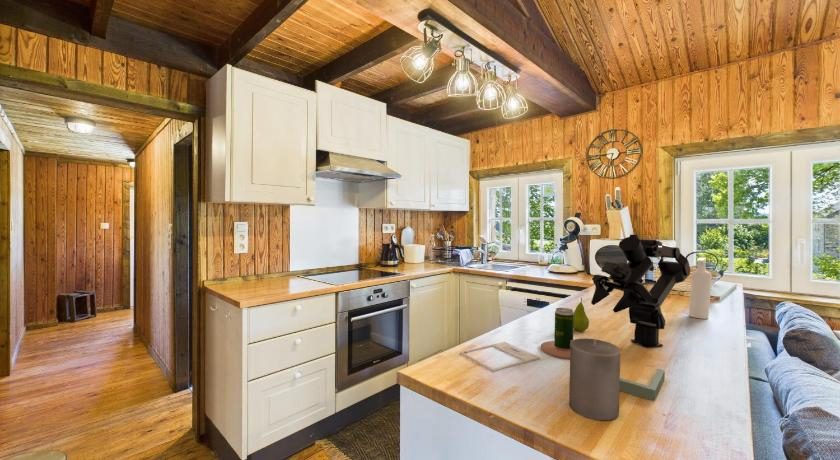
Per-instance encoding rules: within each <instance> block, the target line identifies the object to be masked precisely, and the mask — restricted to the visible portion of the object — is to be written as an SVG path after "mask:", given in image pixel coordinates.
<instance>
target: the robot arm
mask: <svg viewBox="0 0 840 460" xmlns="http://www.w3.org/2000/svg"><path fill="white" fill-rule="evenodd" d="M618 247H619V249H620V251H621V254H622V255H623V257H624V259H625V260H626V261H627V263H624V262H619V264H617V263H614V262H609V261H604V264H603V266H602V268H601V270H600V271H601V272H602V273H605V274H608V275H609V278H610V279H609V278H608V276H607V275H602V274H594V275H593V277H592V278H591V280H592V281H593V284H594V286H595V289H594V292H593V296H592V299H591V302H590V304H592V305H593V306H594V305H596V304H598V303H599V302H601V301H602V300H604V299H605V298H607V297H608V296H610V295H611V292H613V291H614V290H617V291H620V292H621V291H622V292H623V295H622V297H621V298H620V299H619V300H618V302H616V304H615V305H614V308H613V309H612V311H613V312H614V313H615V314H616V313H619V312H621V311H624V310H626V309H628V317H629V323H630V324H635V325H634V327H635V328H634V333H633V335H634V338H632V339H630V341H631V342H632V343H635V344H638V345H640V346H643V348H644V347H646V348H647V349H648V348H657V347H659V348H660V347H663V346H664V345H663V343H660V342H659V338H660V336H659V335H660V330H665V326H666V319H665V316H664V315H663V314H664V313H662V309H661V306H662V305H663V303H664V302H665V300H666V299H667V297H668V295H670V292H671V291H672V290H673V288H674V287H675V285H676V284H679V283H682V282H684V281H685V280H686V279H687V278H688V277H690V275H691V267H690V262H689V260H688V258H687V257H686V256H685V255H683V254H682V253H681V251H680V247H677V246H672V245H671V246H669V245H666V244H663V242H662V241H661V240H659V239H653V238H652V239H651V238H649V239H648V238H640V237H639V236H638V234H629V236H628V237H624V238H622V240H620V241H619V242H618ZM651 258H656V259H657V258H660V259H659V260H658V263H657V267H658V269H659V272H660V276H659V277H658V279H657V280H656V281H655V283H654V284H653V285H652V287H651V288H650V290H648V289H647V288H646V287H645V285H644V284H643V283H644V279H643V278H644V276H645V275H646V274H647V273H648V272H649V271H654V270H655V266H654V262H653V261H652V260H651ZM664 258H668V259H675V261H669V260H664ZM611 280H612V281H611Z"/></svg>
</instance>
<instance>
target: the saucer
mask: <svg viewBox="0 0 840 460" xmlns="http://www.w3.org/2000/svg"><path fill="white" fill-rule="evenodd" d="M540 350H541V352H543V353H544V354H545V355H549V356H550V357H554V358H558V359H561V360H570V351H561V350H558V349H556V348H555V346H554V340H551V341H545V342H542V343H541V344H540Z"/></svg>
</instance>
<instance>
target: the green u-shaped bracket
mask: <svg viewBox="0 0 840 460" xmlns="http://www.w3.org/2000/svg"><path fill="white" fill-rule="evenodd" d="M656 369H657V370H656V371H655V373H654V375H653V377H652V378H651V381H650V382H649V384H648V385H647V384H644V383H639V382H636V381H633V380H629V379H626V378H622V377H620V392H623V393H626V394H629V395H632V396H636V397H639V398H642V399H646V400H649V401H652V402H656V399H657V397H658V396H659V393H660V391H661V389H662V386H663V384H664V382H665V375H666V374H665V373H666V371H665V370H664V369H659V368H656Z"/></svg>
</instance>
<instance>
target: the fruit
mask: <svg viewBox="0 0 840 460" xmlns="http://www.w3.org/2000/svg"><path fill="white" fill-rule="evenodd" d="M573 313H574V326H573V330H575V331H577V332H585V331H586V330H587V329H588V328H589V327H590V319H589V317H588V316H587V314H586V310H585V306H584V304H583V298H582V297H580V302H579V303H578V304H577V305H576V307H575V309H574V310H573Z"/></svg>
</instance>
